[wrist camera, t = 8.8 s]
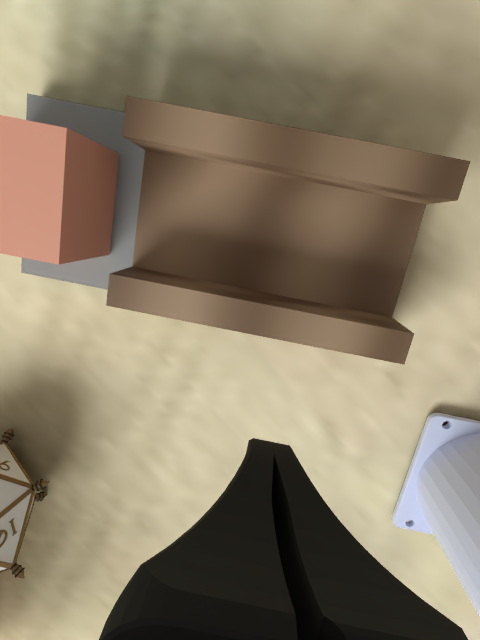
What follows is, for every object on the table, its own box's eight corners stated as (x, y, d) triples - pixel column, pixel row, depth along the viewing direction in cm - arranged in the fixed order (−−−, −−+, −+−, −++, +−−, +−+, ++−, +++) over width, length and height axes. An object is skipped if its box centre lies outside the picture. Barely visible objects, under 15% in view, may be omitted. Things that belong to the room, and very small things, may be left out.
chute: (427, 174, 19) (470, 161, 15) (377, 338, 21) (404, 364, 17) (154, 122, 19) (126, 95, 15) (135, 290, 21) (106, 305, 17)
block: (119, 153, 18) (66, 128, 13) (109, 254, 19) (58, 264, 15) (20, 134, 18) (-68, 101, 13) (17, 236, 19) (-64, 240, 15)
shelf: (154, 122, 19) (148, 116, 18) (135, 290, 21) (129, 293, 20) (39, 100, 19) (27, 93, 18) (32, 270, 21) (21, 272, 20)
